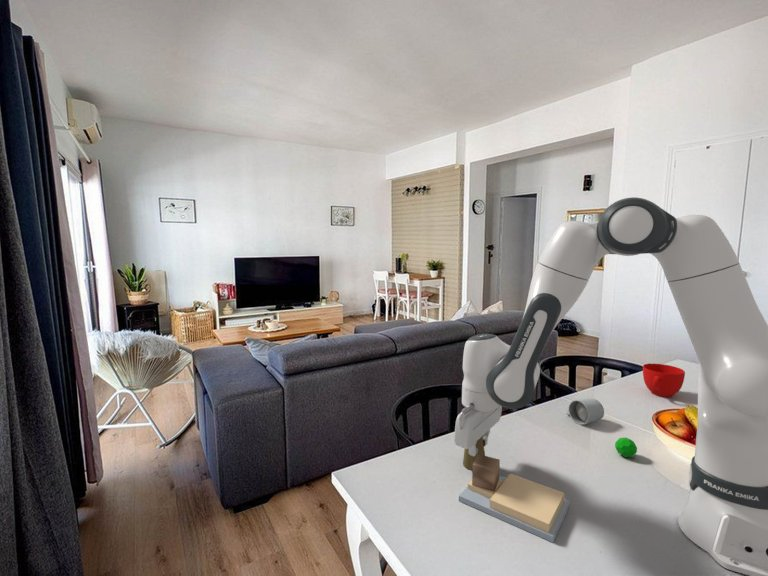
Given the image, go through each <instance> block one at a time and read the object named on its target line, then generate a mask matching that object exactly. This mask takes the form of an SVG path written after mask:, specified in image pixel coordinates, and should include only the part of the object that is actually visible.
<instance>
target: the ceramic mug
mask: <svg viewBox="0 0 768 576" xmlns="http://www.w3.org/2000/svg"><path fill="white" fill-rule="evenodd" d="M604 409H605V408H604V407H603V405H602V403H601V401H599V400H597V399H596V398H591V397H589V398H579V399H574V400H571V401H570V402H569V405H568V409H566V411H565V412H566V414H567V416H570V419H571V420H572V421H573V422H574V423H575V424H577V425H579V426H584V425H588V424H591V423H596V422H599V421H601V419H603V418H604V415H605V410H604Z"/></svg>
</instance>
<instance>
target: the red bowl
mask: <svg viewBox="0 0 768 576" xmlns="http://www.w3.org/2000/svg"><path fill="white" fill-rule="evenodd" d="M642 376H643V382H644V384H645V386H646V388H647V389H648V390H649V392H650V393H651V394H653V395H655V396H656V397H657V396H658V397H662V398H672V397H673V396H674V395H676V394H677V393H679V391H680V390H681V389H682V386H683V384H684V381H685V377H686V372H685V370H684V369H682V368H679V367H677V366H673V365H668V364H662V363H646V364H643V365H642Z"/></svg>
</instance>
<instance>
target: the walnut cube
mask: <svg viewBox="0 0 768 576" xmlns="http://www.w3.org/2000/svg"><path fill="white" fill-rule="evenodd" d="M500 462H501V460H500V459H498V458H496V457H495V458H494V457H492V456H487V455H485V456H484V455H480V454H478V455H477V457H476V459H475V461H474V463H473V467H472V471H471V475H472V476H471V480H472V485H473V486H476V487H480V488H483V489H487V490H490V491H493V492H494V491H495V489H496V486H497V484H498V481H499V475H500Z"/></svg>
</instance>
